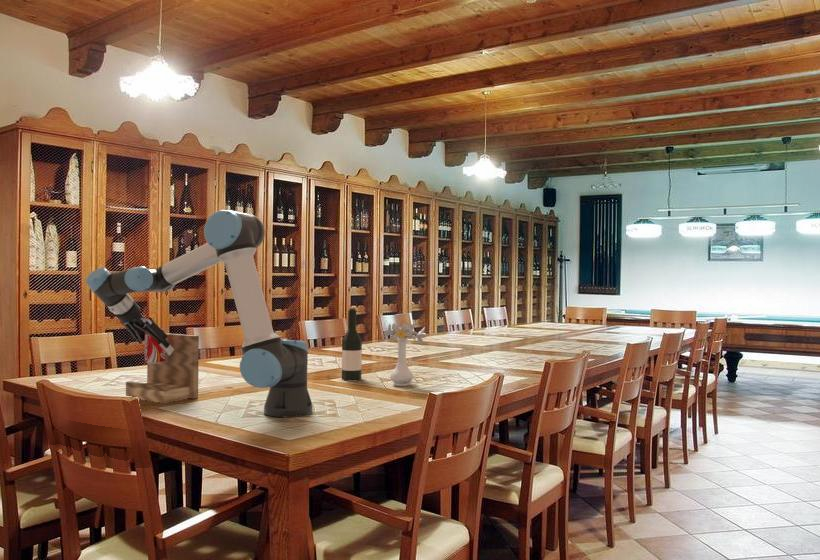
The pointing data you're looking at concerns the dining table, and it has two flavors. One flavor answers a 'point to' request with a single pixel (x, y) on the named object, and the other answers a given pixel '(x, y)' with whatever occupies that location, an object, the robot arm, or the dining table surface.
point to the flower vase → (403, 351)
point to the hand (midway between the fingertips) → (163, 351)
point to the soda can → (154, 350)
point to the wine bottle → (351, 350)
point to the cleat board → (171, 373)
